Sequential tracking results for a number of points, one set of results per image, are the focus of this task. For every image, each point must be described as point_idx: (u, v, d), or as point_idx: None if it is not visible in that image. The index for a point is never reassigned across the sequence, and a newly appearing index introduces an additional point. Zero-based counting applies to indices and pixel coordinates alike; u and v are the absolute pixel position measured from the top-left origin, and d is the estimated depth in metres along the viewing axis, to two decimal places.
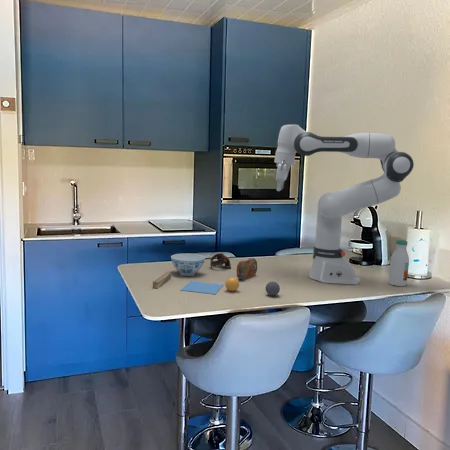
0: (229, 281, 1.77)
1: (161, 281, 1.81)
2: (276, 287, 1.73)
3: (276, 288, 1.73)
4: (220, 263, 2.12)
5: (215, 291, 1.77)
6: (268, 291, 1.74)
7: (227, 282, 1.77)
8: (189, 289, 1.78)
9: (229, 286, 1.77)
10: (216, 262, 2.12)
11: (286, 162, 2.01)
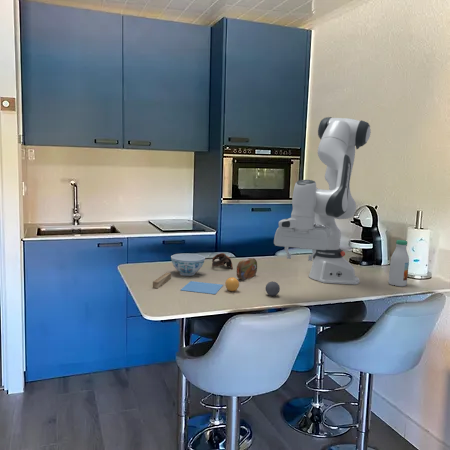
0: (229, 281, 1.77)
1: (161, 281, 1.81)
2: (276, 287, 1.73)
3: (276, 288, 1.73)
4: (222, 263, 2.11)
5: (215, 291, 1.77)
6: (268, 291, 1.74)
7: (227, 282, 1.77)
8: (189, 289, 1.78)
9: (229, 286, 1.77)
10: (218, 262, 2.12)
11: None
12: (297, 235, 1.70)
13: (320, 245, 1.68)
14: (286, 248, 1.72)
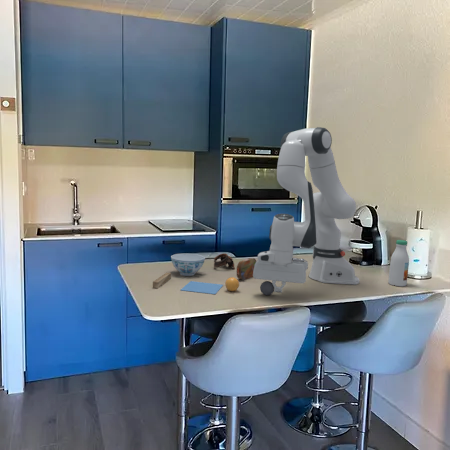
0: (229, 281, 1.77)
1: (161, 281, 1.81)
2: (268, 285, 1.74)
3: (270, 286, 1.74)
4: (224, 263, 2.11)
5: (215, 291, 1.77)
6: (264, 292, 1.74)
7: (227, 282, 1.77)
8: (189, 289, 1.78)
9: (229, 286, 1.77)
10: (220, 262, 2.11)
11: None
12: (275, 268, 1.72)
13: (298, 278, 1.71)
14: (274, 282, 1.74)
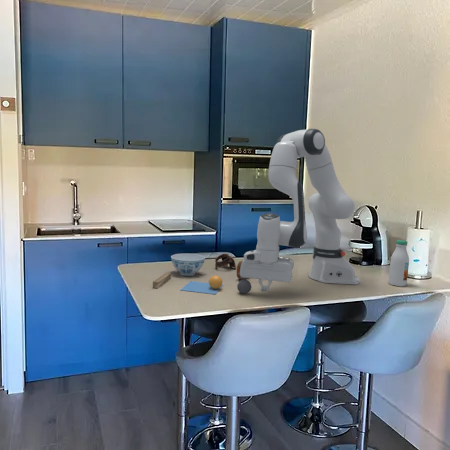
0: (212, 287, 1.79)
1: (161, 281, 1.81)
2: (242, 293, 1.75)
3: (240, 292, 1.75)
4: (225, 264, 2.11)
5: (215, 291, 1.77)
6: (246, 286, 1.74)
7: (215, 288, 1.79)
8: (189, 289, 1.78)
9: (215, 284, 1.78)
10: (221, 263, 2.11)
11: None
12: (261, 267, 1.74)
13: (284, 277, 1.72)
14: (260, 280, 1.75)
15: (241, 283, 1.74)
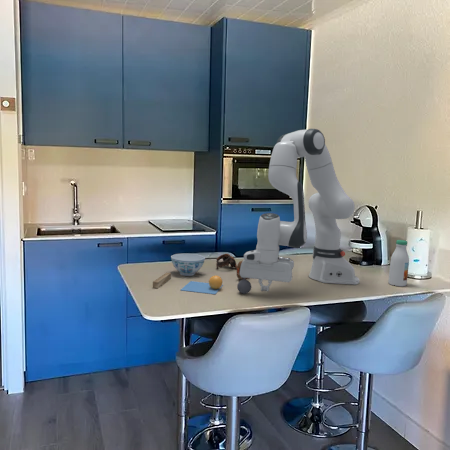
0: (212, 287, 1.79)
1: (161, 281, 1.81)
2: (242, 293, 1.75)
3: (240, 292, 1.75)
4: (226, 264, 2.11)
5: (215, 291, 1.77)
6: (246, 286, 1.74)
7: (215, 288, 1.79)
8: (189, 289, 1.78)
9: (215, 284, 1.78)
10: (222, 263, 2.11)
11: None
12: (261, 267, 1.74)
13: (284, 277, 1.72)
14: (260, 280, 1.75)
15: (241, 283, 1.74)
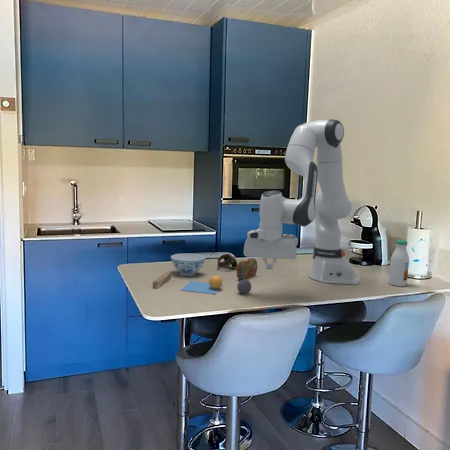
0: (212, 287, 1.79)
1: (161, 281, 1.81)
2: (242, 293, 1.75)
3: (240, 292, 1.75)
4: (228, 264, 2.11)
5: (215, 291, 1.77)
6: (246, 286, 1.74)
7: (215, 288, 1.79)
8: (189, 289, 1.78)
9: (215, 284, 1.78)
10: (224, 263, 2.11)
11: None
12: (265, 245, 1.73)
13: (288, 254, 1.71)
14: (264, 259, 1.74)
15: (241, 283, 1.74)
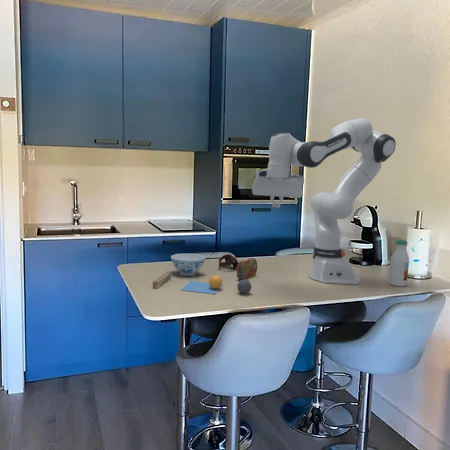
0: (212, 287, 1.79)
1: (161, 281, 1.81)
2: (242, 293, 1.75)
3: (240, 292, 1.75)
4: (229, 264, 2.11)
5: (215, 291, 1.77)
6: (246, 286, 1.74)
7: (215, 288, 1.79)
8: (189, 289, 1.78)
9: (215, 284, 1.78)
10: (225, 263, 2.11)
11: None
12: (273, 184, 1.82)
13: (295, 193, 1.80)
14: (272, 197, 1.83)
15: (241, 283, 1.74)
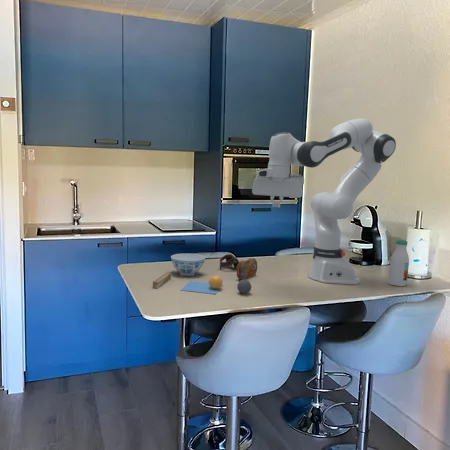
0: (212, 287, 1.79)
1: (161, 281, 1.81)
2: (242, 293, 1.75)
3: (240, 292, 1.75)
4: (230, 264, 2.10)
5: (215, 291, 1.77)
6: (246, 286, 1.74)
7: (215, 288, 1.79)
8: (189, 289, 1.78)
9: (215, 284, 1.78)
10: (226, 263, 2.11)
11: None
12: (273, 184, 1.82)
13: (295, 192, 1.80)
14: (272, 197, 1.83)
15: (241, 283, 1.74)
